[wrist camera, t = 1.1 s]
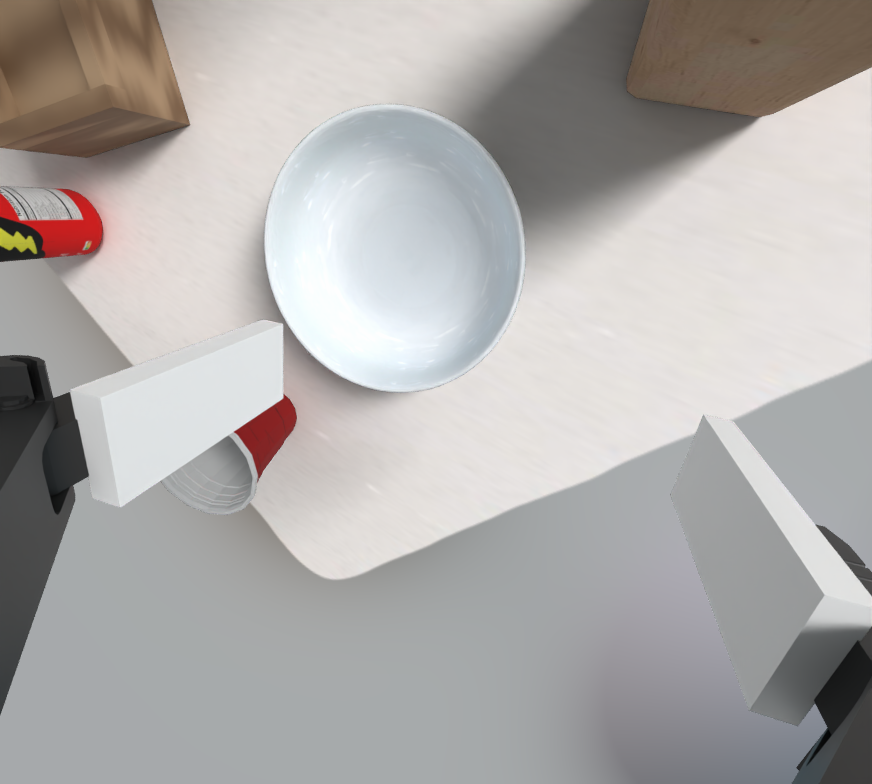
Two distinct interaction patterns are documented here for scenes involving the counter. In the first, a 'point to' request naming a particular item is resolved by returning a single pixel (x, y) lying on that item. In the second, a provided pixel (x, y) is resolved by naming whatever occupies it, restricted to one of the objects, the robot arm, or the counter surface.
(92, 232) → the beverage can
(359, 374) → the serving bowl
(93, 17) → the brown open box
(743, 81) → the wooden block
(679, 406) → the counter surface
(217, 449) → the plastic cup
